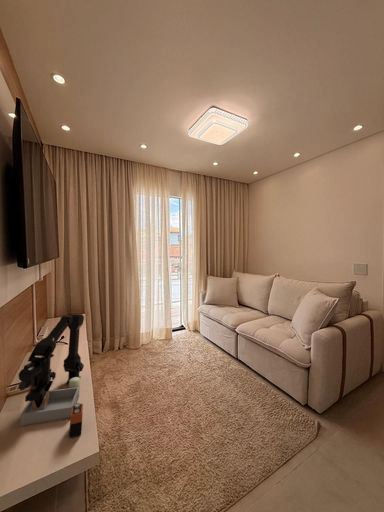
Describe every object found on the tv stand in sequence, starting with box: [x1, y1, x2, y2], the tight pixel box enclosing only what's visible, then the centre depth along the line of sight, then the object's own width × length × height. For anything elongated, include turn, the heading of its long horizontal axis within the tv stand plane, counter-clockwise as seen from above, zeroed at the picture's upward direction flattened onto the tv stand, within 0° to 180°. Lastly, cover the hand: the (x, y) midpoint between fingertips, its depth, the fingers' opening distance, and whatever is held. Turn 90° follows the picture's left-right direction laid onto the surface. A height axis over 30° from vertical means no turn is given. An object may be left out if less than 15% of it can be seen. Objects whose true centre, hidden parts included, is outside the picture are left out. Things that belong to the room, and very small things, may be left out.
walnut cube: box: [32, 390, 50, 410], centre depth 98 cm, size 5×5×5 cm
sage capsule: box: [68, 377, 81, 388], centre depth 113 cm, size 5×5×7 cm
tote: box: [19, 386, 81, 427], centre depth 99 cm, size 16×20×5 cm
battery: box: [68, 402, 84, 439], centre depth 88 cm, size 4×7×10 cm, turn 25°
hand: (40, 403), depth 98 cm, fingers closed on walnut cube, 5 cm apart
